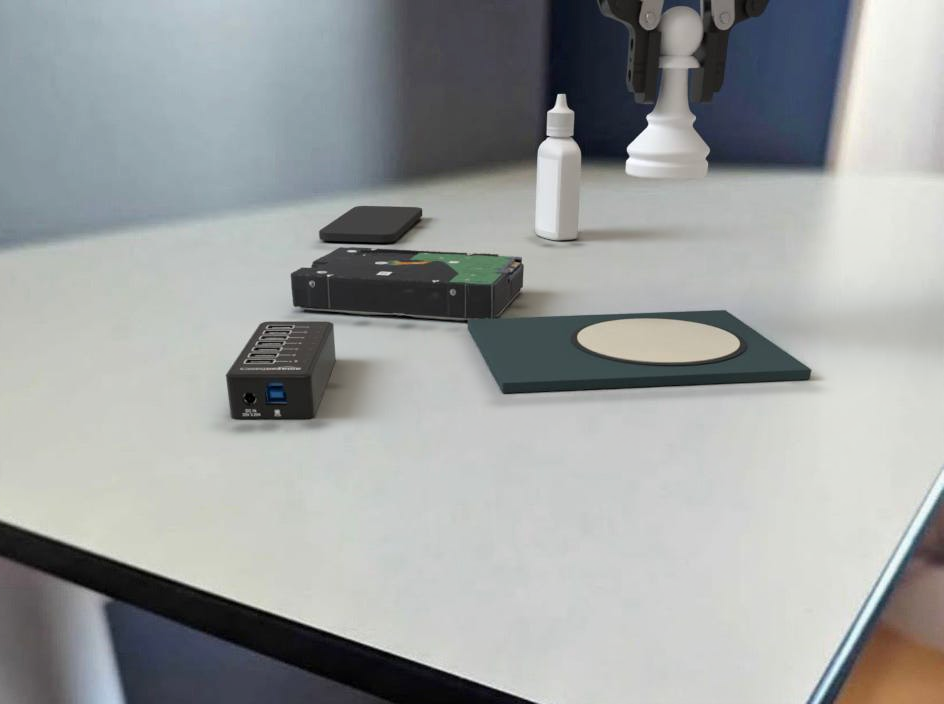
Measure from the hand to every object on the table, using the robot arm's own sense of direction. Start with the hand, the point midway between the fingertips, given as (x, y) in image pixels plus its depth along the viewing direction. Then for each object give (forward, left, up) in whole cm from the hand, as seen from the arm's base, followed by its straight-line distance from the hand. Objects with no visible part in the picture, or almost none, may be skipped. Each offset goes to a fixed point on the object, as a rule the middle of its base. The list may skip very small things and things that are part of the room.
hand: (673, 101), depth 62 cm
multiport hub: (+24, +9, -14) cm, 29 cm away
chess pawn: (0, 0, -4) cm, 4 cm away
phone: (+16, -40, -14) cm, 45 cm away
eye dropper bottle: (-1, -34, -14) cm, 37 cm away
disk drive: (+15, -10, -14) cm, 23 cm away
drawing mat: (+3, +5, -14) cm, 15 cm away
